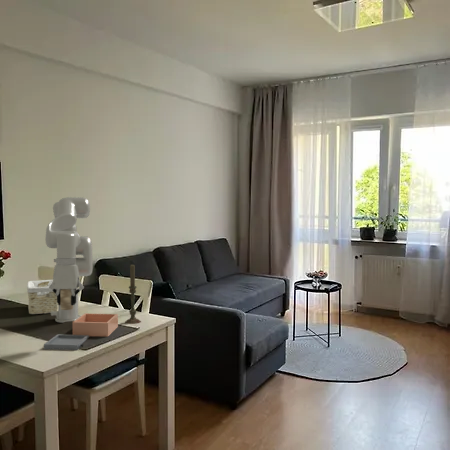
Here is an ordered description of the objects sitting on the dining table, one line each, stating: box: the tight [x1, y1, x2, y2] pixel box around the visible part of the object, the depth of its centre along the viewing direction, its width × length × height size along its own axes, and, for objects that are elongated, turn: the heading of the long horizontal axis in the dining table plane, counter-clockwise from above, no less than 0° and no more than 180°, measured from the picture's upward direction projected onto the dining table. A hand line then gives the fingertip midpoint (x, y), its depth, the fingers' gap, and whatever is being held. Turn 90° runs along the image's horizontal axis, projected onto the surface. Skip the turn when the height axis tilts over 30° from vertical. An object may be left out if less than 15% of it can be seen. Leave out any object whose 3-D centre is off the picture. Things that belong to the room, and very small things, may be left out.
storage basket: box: [26, 279, 58, 315], centre depth 260 cm, size 24×16×15 cm
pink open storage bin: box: [72, 312, 119, 337], centre depth 217 cm, size 16×16×7 cm
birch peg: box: [60, 289, 73, 310], centre depth 199 cm, size 5×5×10 cm
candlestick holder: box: [124, 263, 142, 325], centre depth 233 cm, size 9×9×30 cm
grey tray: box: [43, 333, 90, 351], centre depth 201 cm, size 14×14×2 cm
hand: (66, 304), depth 199 cm, fingers closed on birch peg, 5 cm apart
